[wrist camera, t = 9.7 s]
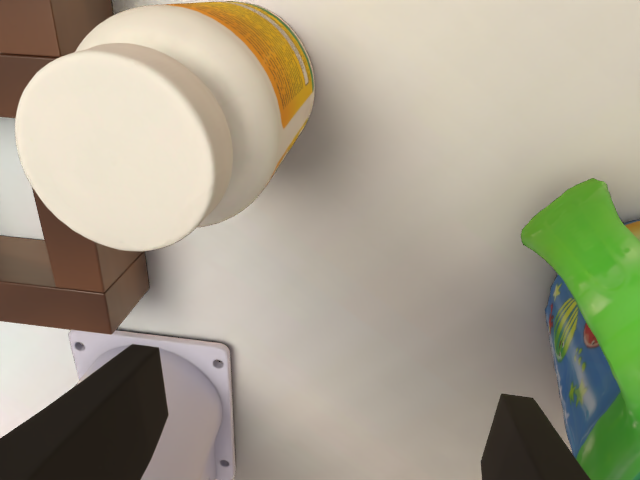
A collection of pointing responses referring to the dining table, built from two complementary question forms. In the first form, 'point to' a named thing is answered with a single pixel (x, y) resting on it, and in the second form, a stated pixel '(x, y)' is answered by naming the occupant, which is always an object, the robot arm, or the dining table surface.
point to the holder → (60, 241)
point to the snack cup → (594, 325)
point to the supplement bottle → (164, 120)
